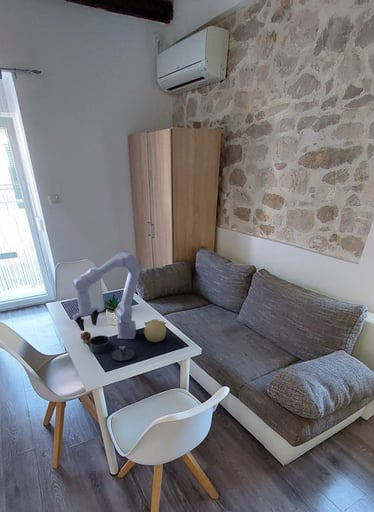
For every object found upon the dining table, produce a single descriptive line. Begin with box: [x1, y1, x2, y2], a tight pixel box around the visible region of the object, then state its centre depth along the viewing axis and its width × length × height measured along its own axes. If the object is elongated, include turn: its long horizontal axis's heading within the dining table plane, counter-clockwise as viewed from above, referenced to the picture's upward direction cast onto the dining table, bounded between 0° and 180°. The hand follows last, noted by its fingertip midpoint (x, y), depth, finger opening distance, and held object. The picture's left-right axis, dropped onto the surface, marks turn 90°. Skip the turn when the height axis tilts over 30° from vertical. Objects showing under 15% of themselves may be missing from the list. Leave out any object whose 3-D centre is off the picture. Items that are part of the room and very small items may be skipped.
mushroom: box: [80, 330, 92, 344], centre depth 162 cm, size 5×5×6 cm
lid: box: [111, 345, 135, 362], centre depth 151 cm, size 11×11×5 cm
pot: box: [88, 334, 112, 354], centre depth 158 cm, size 10×10×5 cm
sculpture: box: [144, 318, 167, 343], centre depth 165 cm, size 12×12×11 cm
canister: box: [88, 278, 106, 313], centre depth 194 cm, size 14×14×20 cm
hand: (88, 327), depth 157 cm, fingers open, 7 cm apart
